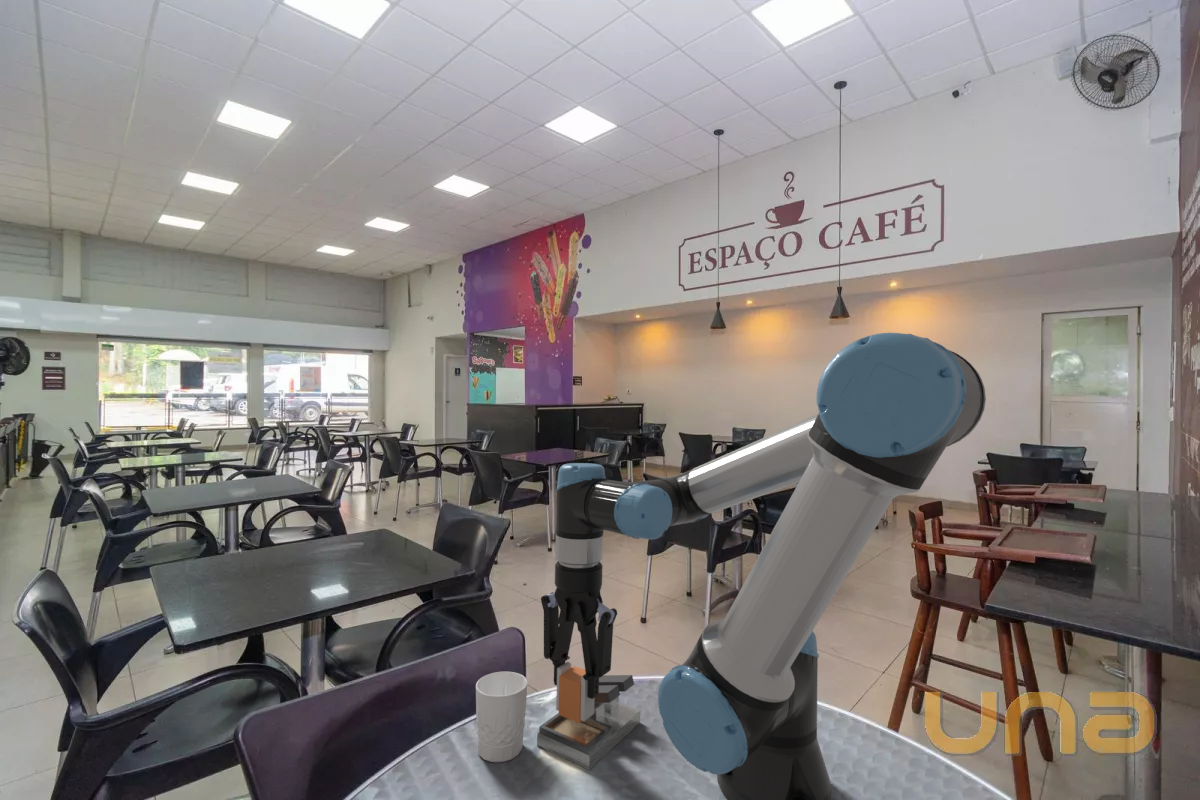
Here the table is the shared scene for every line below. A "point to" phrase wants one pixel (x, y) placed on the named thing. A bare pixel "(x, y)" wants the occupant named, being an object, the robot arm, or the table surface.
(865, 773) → the table surface
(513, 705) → the white cup
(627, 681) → the block
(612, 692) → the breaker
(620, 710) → the gray metal tray
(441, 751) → the table surface
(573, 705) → the cap
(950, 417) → the robot arm
